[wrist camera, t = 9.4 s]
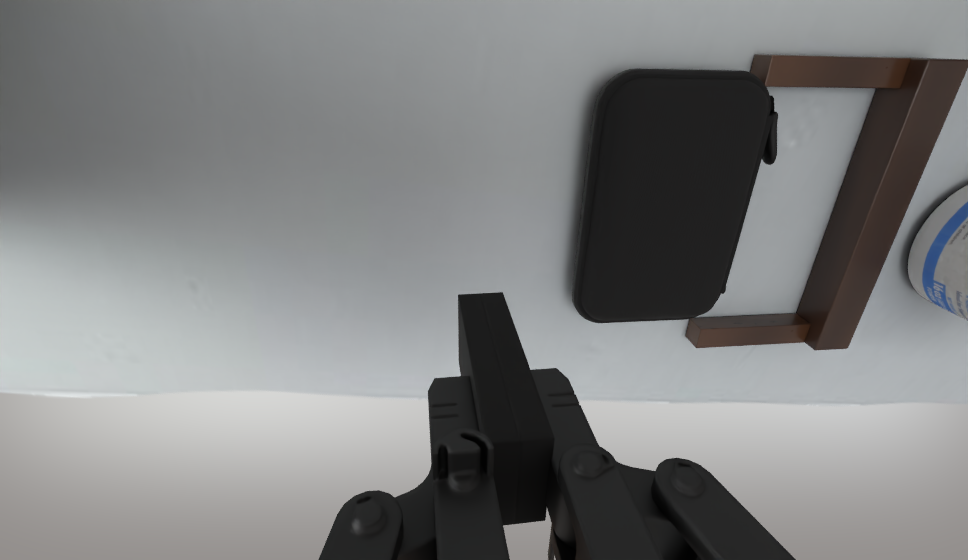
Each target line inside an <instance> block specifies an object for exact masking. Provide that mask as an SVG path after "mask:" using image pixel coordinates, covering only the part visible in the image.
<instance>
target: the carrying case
mask: <svg viewBox="0 0 968 560" xmlns="http://www.w3.org/2000/svg"><path fill="white" fill-rule="evenodd" d="M777 119H778V113H777V112H774V98H773V97H772V96H770V95H769V92H768V90H767V88H766V86H765V85H764V83H763V82H762V81H761V80H760V79H759V78H758V77H757V76H755V75H754V74H752V73H750V72H746V71H732V70H682V69H629V70H626V71H623V72H621V73H619V74H617V75H616V76H614V77H613V78H612V79H610V80H609V81H608V82H607V83H606V85H605V86H604V87H603V88H602V90H601V91H600V93H599V95H598V97H597V99H596V103H595V106H594V111H593V118H592V125H591V132H590V141H589V149H588V158H587V167H586V175H585V184H584V193H583V201H582V210H581V218H580V227H579V235H578V244H577V252H576V261H575V269H574V277H573V289H572V301H573V304H574V306H575V308H576V310H577V311H578V313H579V314H580V315H581V316H582V317H584V318H585V319H587V320H589V321H592V322H595V323H614V322H636V321H658V320H683V319H691V318H694V317H697V316H699V315H701V314H704V313H706V312H708V311H709V310H710V309H711V308H712V307H713V306H714V304H715V303H716V301H717V300H718V298H719V296H720V294H721V293H722V294H724V292H725V290H726V283H727V280H728V276H729V273H730V269H731V265H732V262H733V258H734V255H735V251H736V248H737V244H738V241H739V237H740V234H741V230H742V226H743V223H744V219H745V216H746V212H747V209H748V205H749V202H750V198H751V195H752V191H753V187H754V184H755V180H756V177H757V173H758V170H759V166H760V163H761V159H762V160H763V161H764V163H766V164H769V165H771V164H773V163H774V161H775V159H776V155H777Z"/></svg>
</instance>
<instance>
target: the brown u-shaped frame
mask: <svg viewBox="0 0 968 560" xmlns="http://www.w3.org/2000/svg"><path fill="white" fill-rule="evenodd" d="M967 68H968V60H964V59H936V58H897V57H853V56H808V55H763V54H755V55H754V59H753V63H752V68H751V72H750V73H752V74H754V75H755V76H757V77H758V78H759V79H760V80H761V81H762V82H763V83H764V85H765V86H766V87H834V88H877V90H876V93H875V96H874V98H873V101H872V104H871V107H870V109H869V112H868V115H867V118H866V121H865V123H864V126H863V129H862V132H861V135H860V137H859V140H858V143H857V146H856V149H855V151H854V154H853V157H852V160H851V163H850V165H849V168H848V171H847V174H846V177H845V179H844V182H843V185H842V188H841V191H840V193H839V196H838V199H837V202H836V205H835V207H834V210H833V213H832V216H831V218H830V221H829V224H828V227H827V230H826V232H825V235H824V238H823V241H822V244H821V246H820V249H819V252H818V255H817V258H816V260H815V263H814V266H813V269H812V272H811V274H810V277H809V280H808V283H807V286H806V288H805V291H804V294H803V297H802V300H801V302H800V305H799V308H798V311H797V313H794V314H772V315H750V316H728V317H706V318H691V319H690V320H689V324H688V328H687V332H686V337H687V338H688V339H689V341H690V342H691V343H692V344H693V345H694V346H695V347H696V348H706V347H725V346H744V345H763V344H781V343H800V342H805V343H806V344H808V345H809V346H810V347H811V348H813V349H814V350H829V349H847V348H848V346H849V344H850V342H851V339H852V337H853V335H854V332H855V330H856V328H857V325H858V323H859V321H860V318H861V316H862V314H863V311H864V309H865V307H866V304H867V302H868V300H869V297H870V295H871V293H872V290H873V288H874V286H875V283H876V281H877V279H878V276H879V274H880V272H881V269H882V267H883V265H884V262H885V260H886V258H887V255H888V253H889V251H890V248H891V246H892V244H893V241H894V239H895V237H896V234H897V232H898V230H899V227H900V225H901V223H902V220H903V218H904V216H905V213H906V211H907V209H908V206H909V204H910V202H911V199H912V197H913V195H914V192H915V190H916V188H917V185H918V183H919V181H920V178H921V176H922V174H923V171H924V169H925V167H926V164H927V162H928V160H929V157H930V155H931V153H932V150H933V148H934V146H935V143H936V141H937V139H938V136H939V134H940V132H941V129H942V127H943V125H944V122H945V120H946V118H947V115H948V113H949V111H950V108H951V106H952V104H953V101H954V99H955V96H956V94H957V92H958V89H959V87H960V85H961V82H962V80H963V78H964V75H965V73H966V71H967Z"/></svg>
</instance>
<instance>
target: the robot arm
mask: <svg viewBox="0 0 968 560" xmlns="http://www.w3.org/2000/svg"><path fill="white" fill-rule="evenodd" d="M458 321H459V365H460V372H461V376H460V377H447V378H435V379H434V381H433V383H432V384H431V386H430V388H429V390H428V402H429V422H430V423H429V424H430V443H431V462H432V464H431V470H430V472H429V474H428V476H427V477H426V479H425V480H424V481H423V483H421V484H420V485H419V486H418V487H416V488H415V489H413V490H411V491H410V492H407V493H405V494H402V495H400V496H397V497H395V498H394V497H393V496H392V495H391V494H389V493H385V492H382V491H367V492H364V493H361V494H359V495H356V496H354V497H353V498H352V499H350V500H349V501H348V502H346V503H345V504H344V505H343V507H342V508H341V510H340V511H339V513H338V514H337V517H336V519H335V521H334V524H333V526H332V529H331V531H330V534H329V536H328V538H327V541H326V543H325V546H324V548H323V550H322V553H321V555H320V558H319V560H510V559H509V554H508V549H507V544H506V539H505V533H504V528H503V525H510V524H519V523H527V522H536V521H544V520H545V517H546V508H548V512H549V515H550V518H551V522H552V527H551V535H550V542H549V550H548V560H554V554H555V558H556V560H796V559H794V558H793V557H792V555H790V553H789V552H788V551H787V550H786V549H785V548H783V546H782V545H781V544H780V543H779V542H778V541H777V540H776V539H775V538H774V537H773V536H772V535H771V534H770V533H769V532H768V531H767V530H766V529H765V528H764V527H763V526H762V525H761V524H760V523H759V522H758V521H757V520H756V519H755V518H754V517H753V516H752V515H751V514H750V513H749V512H748V511H747V510H746V509H745V508H744V507H743V506H742V505H741V504H740V503H739V502H738V501H737V500H736V499H735V498H734V497H733V496H732V495H731V494H730V493H729V492H728V491H727V490H726V489H725V488H724V486H722V484H721V483H720V482H718V480H717V479H716V478H714V476H713V475H712V474H711V473H710V472H708V471H707V470H706V469H704V468H703V467H702V466H701V465H699V464H696V463H694V462H692V461H690V460H686V459H680V458H672V459H666V460H664V461H663V462H661V463H660V464H659V465H658V467H657V469H656V471H651V470H644V469H639V468H633V467H629V466H626V465H623V464H620V463H618V462H616V461H615V459H614V457H613V456H612V455H611V454H610V453H609V452H608V451H606V450H605V449H603V448H602V447H600V446H599V445H598V443H597V441H596V439H595V437H594V434H593V432H592V430H591V428H590V426H589V423H588V421H587V419H586V417H585V415H584V413H583V410H582V408H581V406H580V405H579V402H578V399H577V397H576V395H574V391H573V388H572V386H571V384H570V382H569V380H568V378H567V377H565V376H564V375H563V374H562V373H561V372H560V371H559V370H558V369H557V368H551V369H538V370H530V368H529V365H528V362H527V359H526V356H525V354H524V351H523V348H522V345H521V342H520V340H519V337H518V334H517V331H516V328H515V326H514V323H513V320H512V317H511V314H510V312H509V309H508V306H507V303H506V300H505V298H504V295H503V292H500V293H482V294H463V295H458Z"/></svg>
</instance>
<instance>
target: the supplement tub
mask: <svg viewBox="0 0 968 560" xmlns="http://www.w3.org/2000/svg"><path fill="white" fill-rule="evenodd" d="M908 274H909V278H910V281H911V283H912V285H913V287H914V288H915V290H916V291H917V292H918V293H919V294H920V295H921V296H922V297H923V298H925V299H927V300H928V301H930V302H932V303H934V304H936V305H938V306H940V307H942V308H944V309H946V310H948V311H950V312H952V313H954V314H956V315H958V316H960V317H962V318H964V319H966V320H968V185H966V186H965V187H963V188H961V189H960V190H958V191H957V192H955V193H954V194H952V195H951V196H950V197H948V198H947V199H946V200H945V201H944V202H943V203H942V204H941V205H939V206H938V207H937V208H936V209H935V211H934V212H933V213H932V214H931V215H930V216H929V218H928V219H927V220H926V221H925V223H924V224H923V226H922V227H921V229H920V230H919V232H918V234H917V236H916V238H915V240H914V242H913V245H912V247H911V250H910V254H909V260H908Z"/></svg>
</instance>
